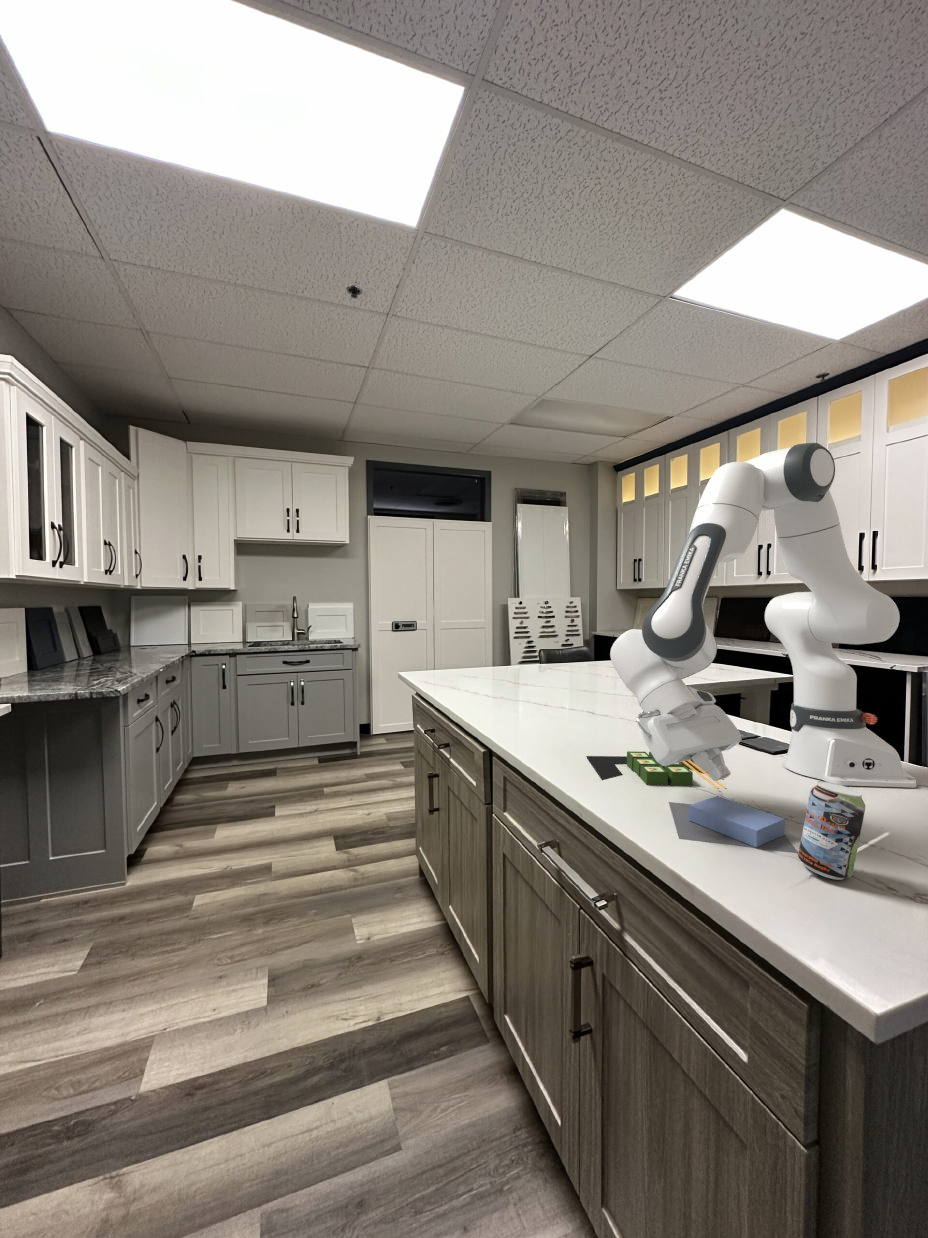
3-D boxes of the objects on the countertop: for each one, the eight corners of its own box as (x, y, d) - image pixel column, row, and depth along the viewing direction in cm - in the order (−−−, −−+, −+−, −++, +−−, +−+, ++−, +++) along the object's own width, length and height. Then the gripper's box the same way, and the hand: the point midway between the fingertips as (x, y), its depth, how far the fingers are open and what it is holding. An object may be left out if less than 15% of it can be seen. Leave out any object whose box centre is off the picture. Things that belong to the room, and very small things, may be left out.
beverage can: (787, 862, 71) (789, 778, 71) (836, 860, 72) (838, 776, 72) (822, 887, 65) (824, 794, 65) (875, 885, 66) (878, 793, 65)
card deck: (689, 805, 84) (756, 830, 75) (717, 795, 88) (785, 818, 79) (688, 821, 84) (756, 848, 75) (717, 811, 88) (784, 835, 79)
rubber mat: (768, 814, 88) (768, 812, 88) (798, 855, 73) (798, 853, 73) (668, 804, 92) (668, 802, 92) (678, 841, 78) (679, 838, 78)
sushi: (748, 802, 95) (749, 783, 95) (613, 800, 96) (613, 781, 96) (693, 761, 120) (693, 745, 120) (586, 759, 121) (586, 744, 121)
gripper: (643, 703, 84) (697, 780, 76) (716, 692, 94) (770, 758, 86) (621, 725, 88) (670, 799, 80) (694, 712, 98) (743, 776, 90)
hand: (723, 778), depth 83 cm, fingers closed
